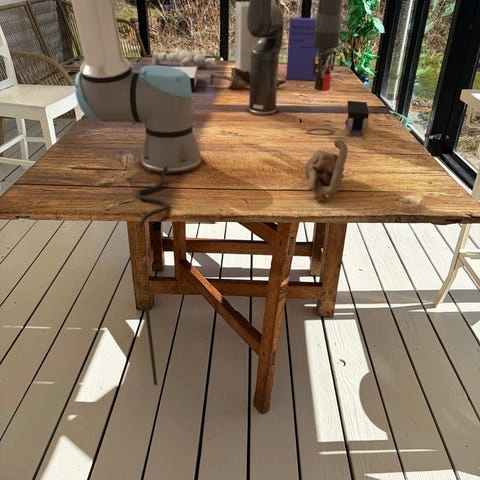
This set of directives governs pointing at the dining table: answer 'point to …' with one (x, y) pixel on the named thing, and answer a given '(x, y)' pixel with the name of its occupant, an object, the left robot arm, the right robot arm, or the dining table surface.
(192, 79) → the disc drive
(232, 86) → the figurine
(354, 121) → the figurine character
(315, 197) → the brown monkey figure
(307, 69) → the cereal box
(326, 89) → the tin
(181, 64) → the toy
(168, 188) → the dining table surface
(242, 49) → the tall white carton
